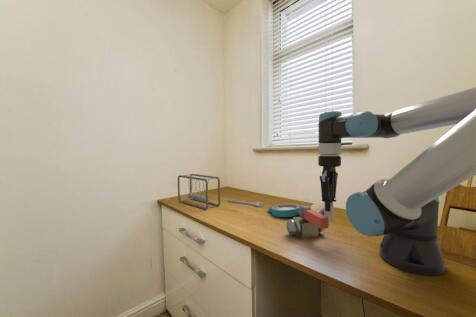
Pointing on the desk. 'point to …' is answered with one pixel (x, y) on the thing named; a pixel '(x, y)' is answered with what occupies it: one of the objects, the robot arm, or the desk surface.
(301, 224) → the valve body
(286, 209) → the butterfly valve
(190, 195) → the newton's cradle
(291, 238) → the desk surface
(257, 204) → the adjustable wrench
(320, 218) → the lever
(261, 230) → the desk surface
